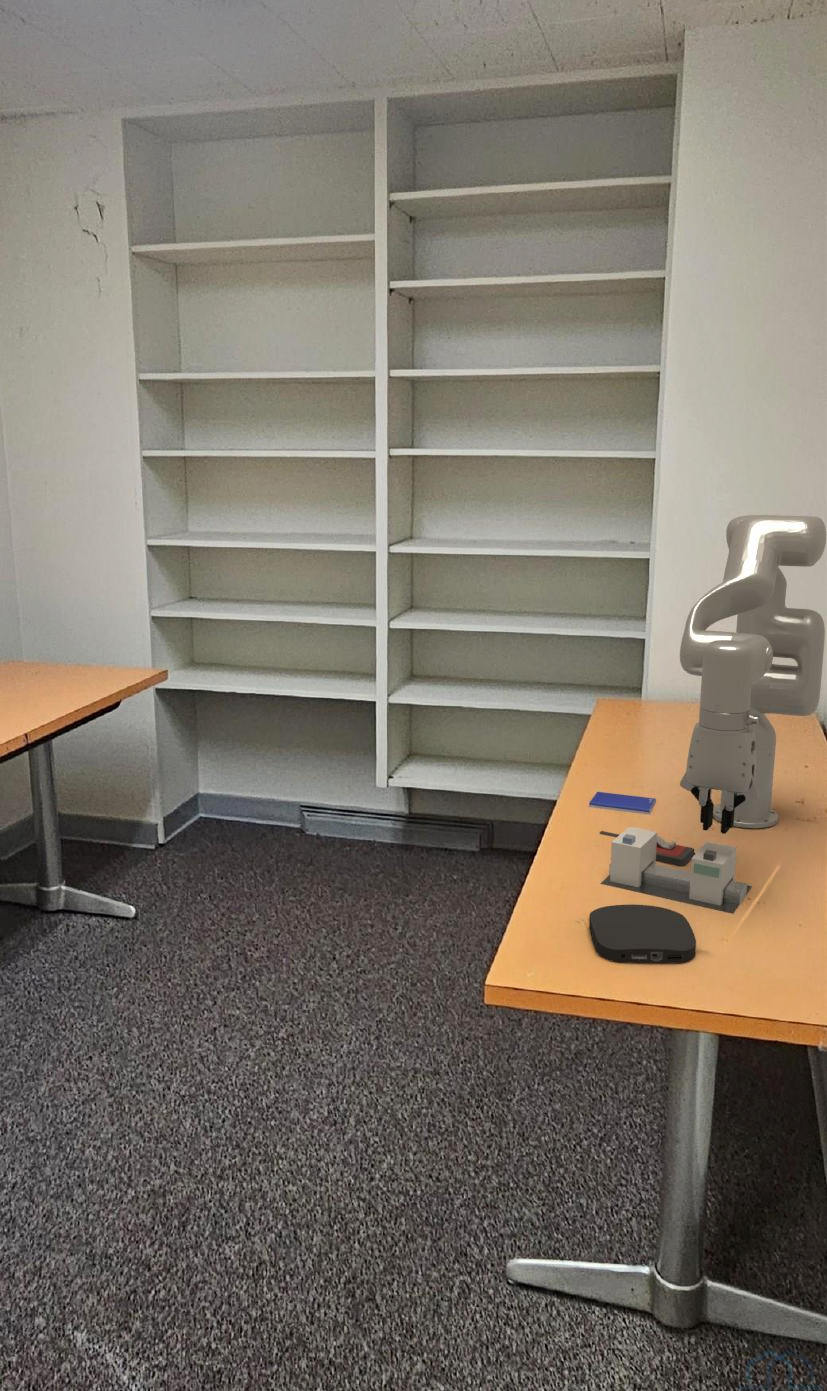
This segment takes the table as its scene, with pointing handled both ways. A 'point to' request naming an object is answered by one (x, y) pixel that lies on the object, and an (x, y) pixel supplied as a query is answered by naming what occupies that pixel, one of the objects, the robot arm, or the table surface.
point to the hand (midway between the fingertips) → (716, 828)
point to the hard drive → (622, 803)
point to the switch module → (712, 872)
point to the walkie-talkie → (668, 851)
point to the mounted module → (632, 855)
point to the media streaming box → (641, 934)
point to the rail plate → (674, 895)
